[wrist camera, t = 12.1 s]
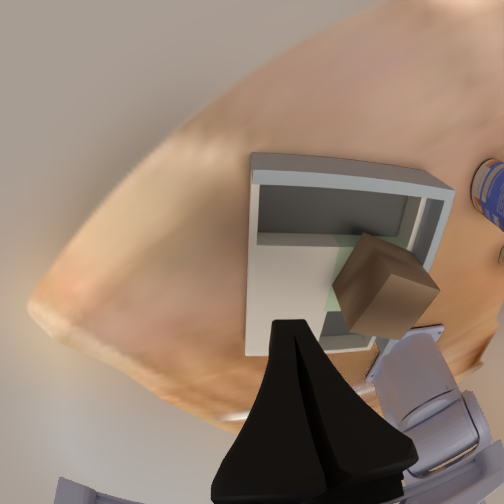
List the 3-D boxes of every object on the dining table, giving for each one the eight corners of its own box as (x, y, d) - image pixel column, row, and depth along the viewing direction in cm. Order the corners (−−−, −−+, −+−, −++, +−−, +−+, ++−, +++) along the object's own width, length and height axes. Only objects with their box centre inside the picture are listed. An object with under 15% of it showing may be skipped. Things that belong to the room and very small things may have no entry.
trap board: (371, 334, 28) (382, 364, 24) (245, 339, 27) (245, 373, 24) (425, 171, 18) (455, 190, 15) (251, 152, 18) (253, 169, 14)
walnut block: (379, 297, 22) (400, 340, 18) (331, 285, 21) (348, 331, 17) (410, 251, 20) (440, 290, 16) (363, 232, 19) (391, 273, 15)
